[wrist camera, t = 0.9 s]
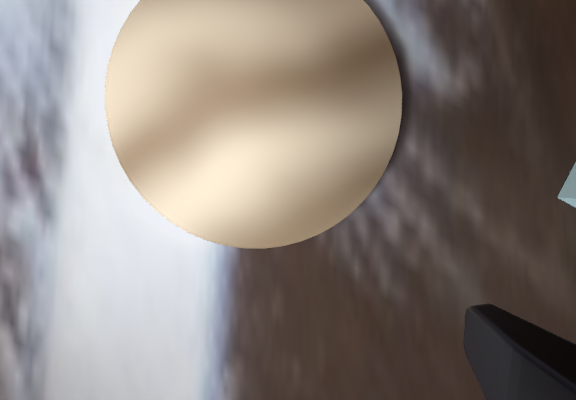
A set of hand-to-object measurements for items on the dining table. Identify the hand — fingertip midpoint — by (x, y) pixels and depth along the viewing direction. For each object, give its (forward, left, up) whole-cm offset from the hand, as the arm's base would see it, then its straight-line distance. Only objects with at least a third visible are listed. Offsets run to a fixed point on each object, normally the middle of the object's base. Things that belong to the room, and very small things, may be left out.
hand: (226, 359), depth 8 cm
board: (+6, -4, -14) cm, 16 cm away
